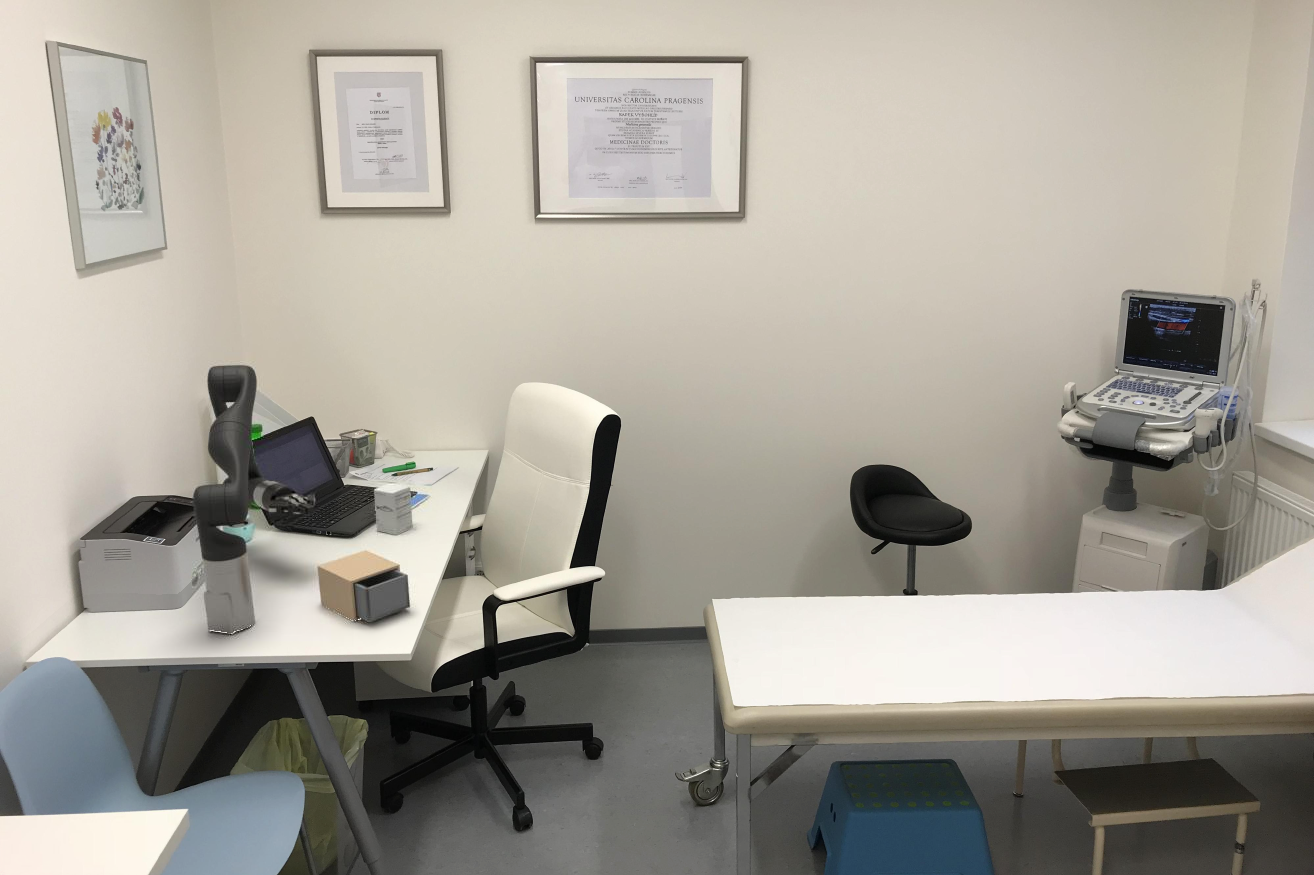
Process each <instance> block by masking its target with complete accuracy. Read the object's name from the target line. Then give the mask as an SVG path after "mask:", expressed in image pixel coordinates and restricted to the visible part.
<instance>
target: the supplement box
mask: <svg viewBox="0 0 1314 875" xmlns="http://www.w3.org/2000/svg"><path fill="white" fill-rule="evenodd" d="M373 496H374V505H375V511H376V514H375V521H376V522H375V524H376V531H377V532H380V533H381V532H382V533H386V534H391V535H394V536H397V535H400V534H402V533H404V532H406V531H408V530H410V529H413V512H412V510H413V509H411V486H410V485H402V484H398V483H392V482H390V483H387V484H384V485H381V486H379V487H377V488H374V490H373Z"/></svg>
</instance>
